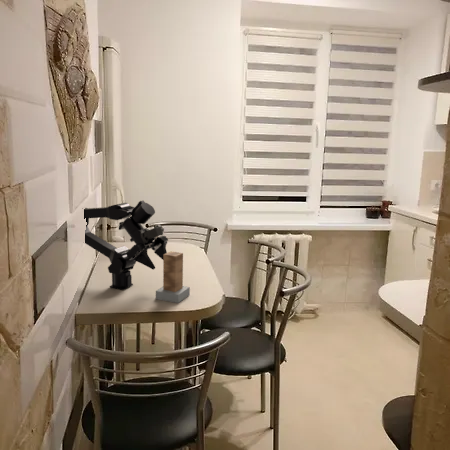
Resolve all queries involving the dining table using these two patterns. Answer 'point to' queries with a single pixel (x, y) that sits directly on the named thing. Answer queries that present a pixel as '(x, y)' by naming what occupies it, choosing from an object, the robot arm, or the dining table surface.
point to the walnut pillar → (172, 271)
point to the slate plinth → (173, 294)
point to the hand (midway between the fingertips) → (161, 265)
